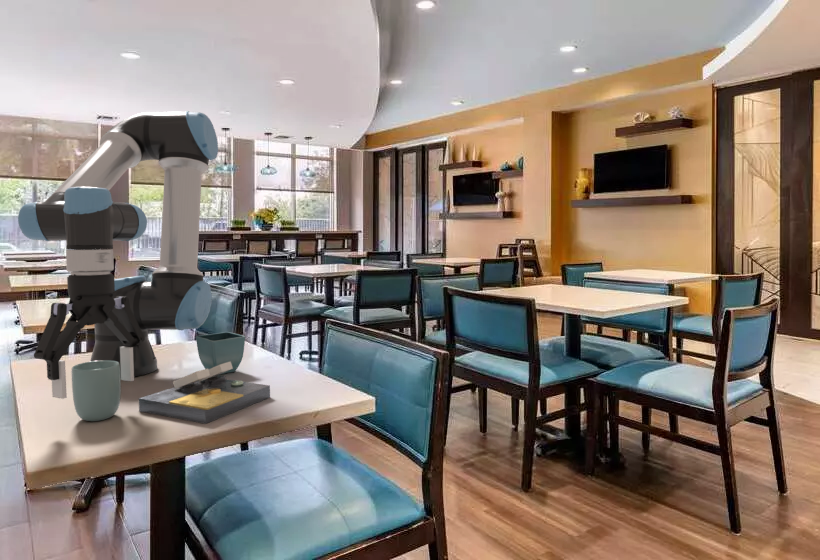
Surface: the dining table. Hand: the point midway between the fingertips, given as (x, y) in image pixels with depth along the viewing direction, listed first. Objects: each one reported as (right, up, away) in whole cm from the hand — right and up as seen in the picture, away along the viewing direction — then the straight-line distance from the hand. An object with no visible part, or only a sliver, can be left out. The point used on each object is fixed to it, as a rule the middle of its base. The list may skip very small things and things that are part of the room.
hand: (95, 388), depth 107 cm
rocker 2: (+16, 0, +16) cm, 23 cm away
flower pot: (+12, -3, +35) cm, 37 cm away
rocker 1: (+14, 0, +11) cm, 17 cm away
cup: (0, -6, +1) cm, 6 cm away
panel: (+17, -5, +9) cm, 20 cm away
